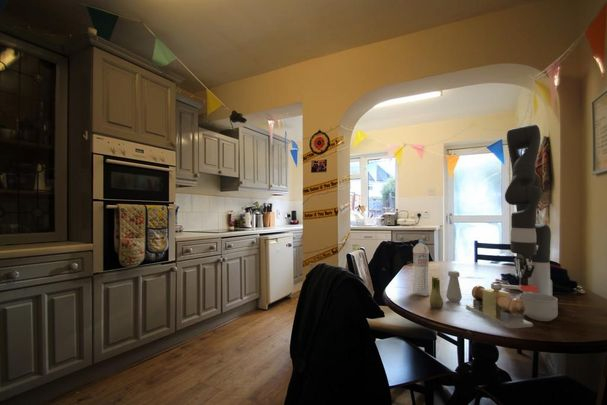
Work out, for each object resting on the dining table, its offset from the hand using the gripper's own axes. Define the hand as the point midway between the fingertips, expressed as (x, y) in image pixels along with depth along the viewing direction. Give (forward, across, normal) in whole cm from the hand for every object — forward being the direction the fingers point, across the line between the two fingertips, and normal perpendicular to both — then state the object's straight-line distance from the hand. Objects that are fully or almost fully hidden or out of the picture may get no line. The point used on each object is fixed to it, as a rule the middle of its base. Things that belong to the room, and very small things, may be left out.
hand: (523, 287), depth 106 cm
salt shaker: (+11, +11, +22) cm, 26 cm away
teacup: (+11, +2, -5) cm, 12 cm away
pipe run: (+11, -3, +9) cm, 15 cm away
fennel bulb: (+11, 0, +29) cm, 31 cm away
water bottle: (+11, +17, +34) cm, 40 cm away
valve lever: (+1, -3, +4) cm, 5 cm away
